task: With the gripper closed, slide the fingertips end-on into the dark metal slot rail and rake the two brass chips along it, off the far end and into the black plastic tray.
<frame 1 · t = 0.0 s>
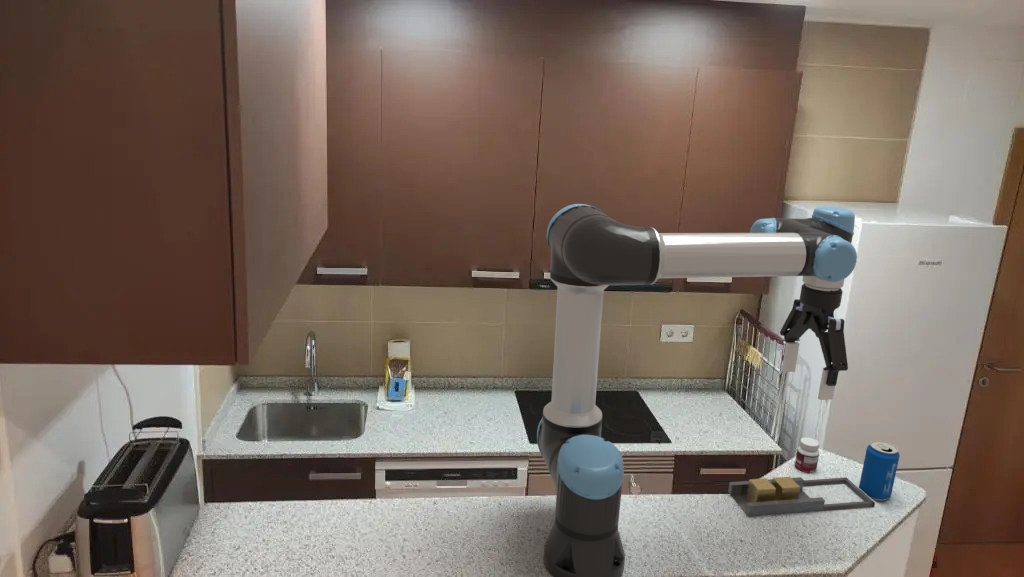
hand: (805, 384, 146), 28 cm above the counter, fingers open, 13 cm apart
tray: (833, 501, 155), on the counter
chip front: (783, 500, 152), point 1 cm above the counter, touching slot rail
beverage can: (874, 495, 159), on the counter
chip rear: (759, 502, 151), point 1 cm above the counter, touching slot rail
slot rail: (773, 507, 152), on the counter
pill bottle: (804, 474, 166), on the counter
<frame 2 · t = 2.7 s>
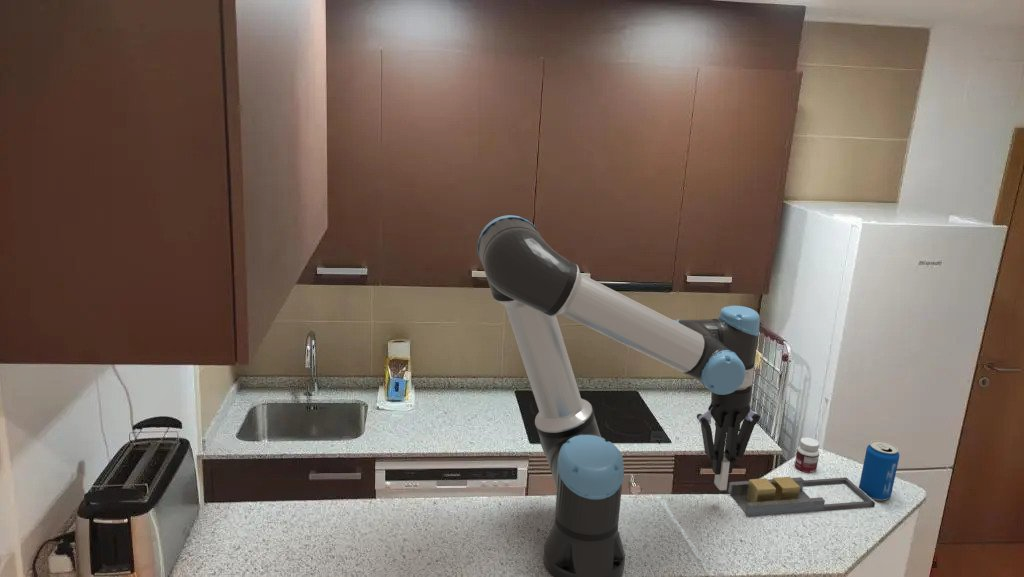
hand: (720, 486, 148), 6 cm above the counter, fingers closed
nothing on the counter moved.
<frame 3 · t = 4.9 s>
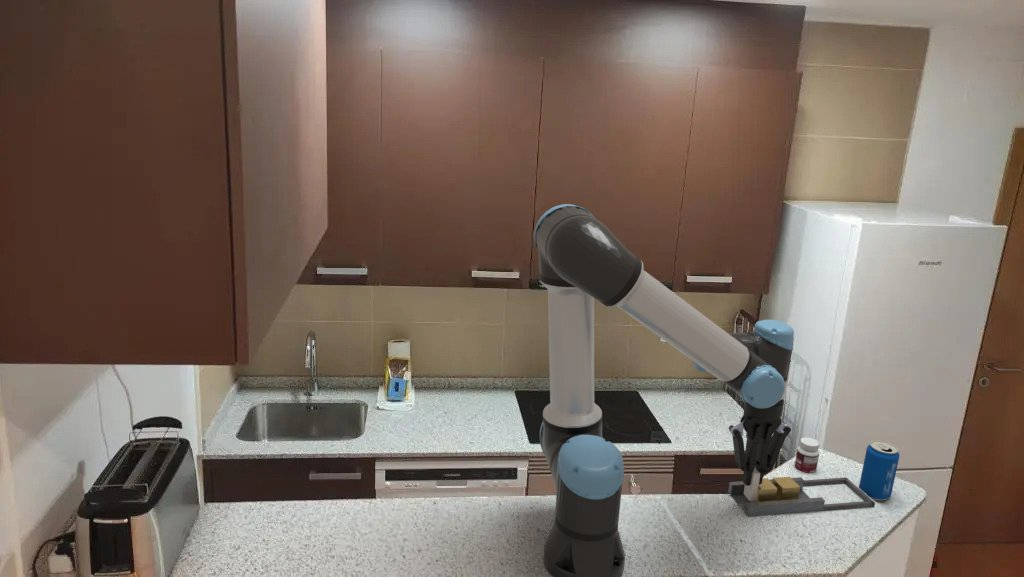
hand: (749, 497, 150), 3 cm above the counter, fingers closed
chip rear: (760, 502, 151), point 2 cm above the counter, touching gripper, slot rail
everything else where it was.
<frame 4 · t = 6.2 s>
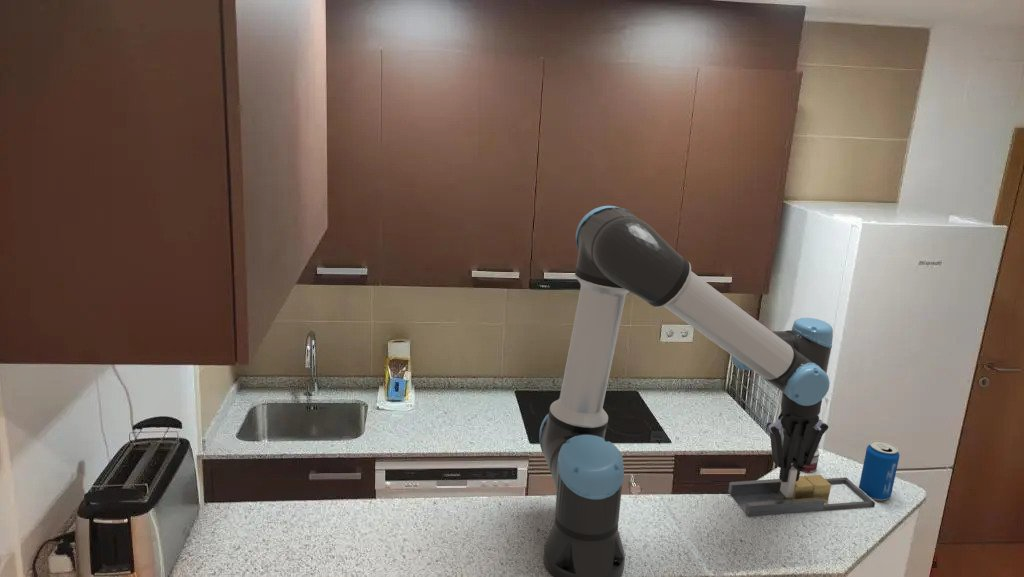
hand: (786, 493, 152), 3 cm above the counter, fingers closed
chip front: (813, 498, 153), point 1 cm above the counter, touching chip rear, slot rail
chip rear: (796, 499, 153), point 2 cm above the counter, touching chip front, gripper
everything else where it was.
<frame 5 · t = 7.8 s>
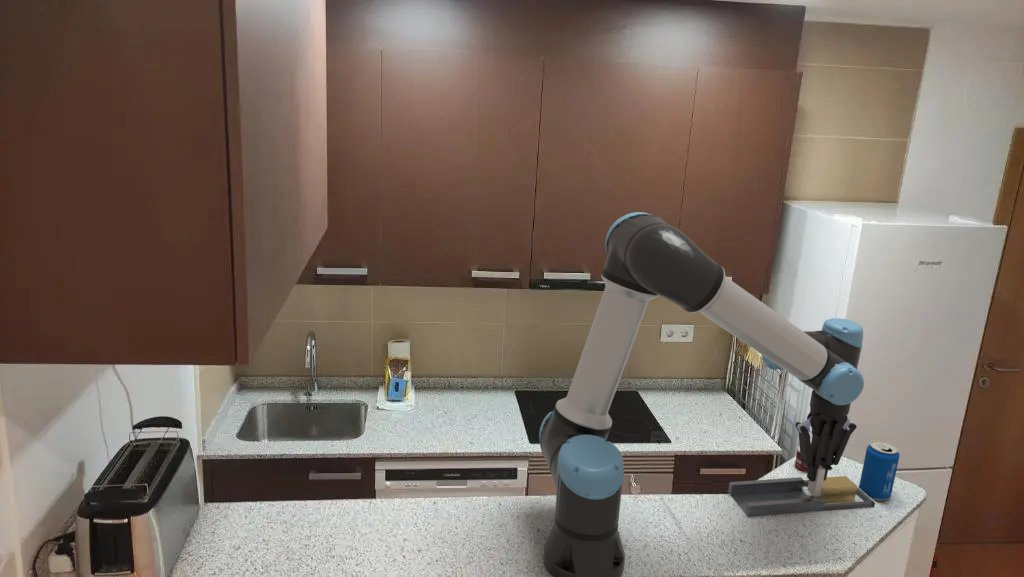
hand: (813, 492, 153), 3 cm above the counter, fingers closed
chip front: (839, 499, 155), point 1 cm above the counter, touching tray
chip rear: (823, 501, 154), point 1 cm above the counter, touching gripper, tray
everything else where it was.
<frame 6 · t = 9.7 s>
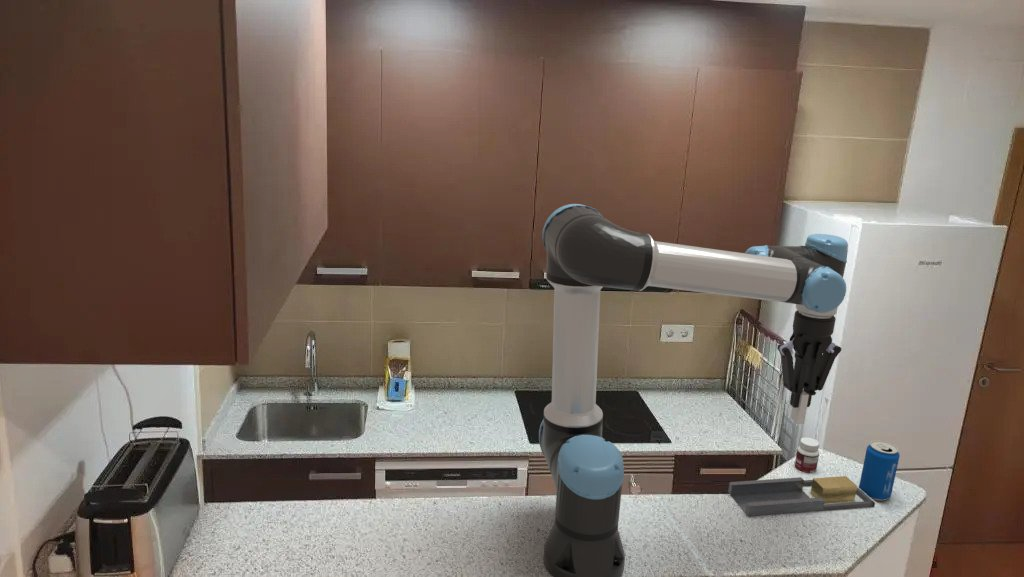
hand: (797, 420, 147), 20 cm above the counter, fingers closed
chip rear: (823, 501, 154), point 1 cm above the counter, touching tray
everything else where it was.
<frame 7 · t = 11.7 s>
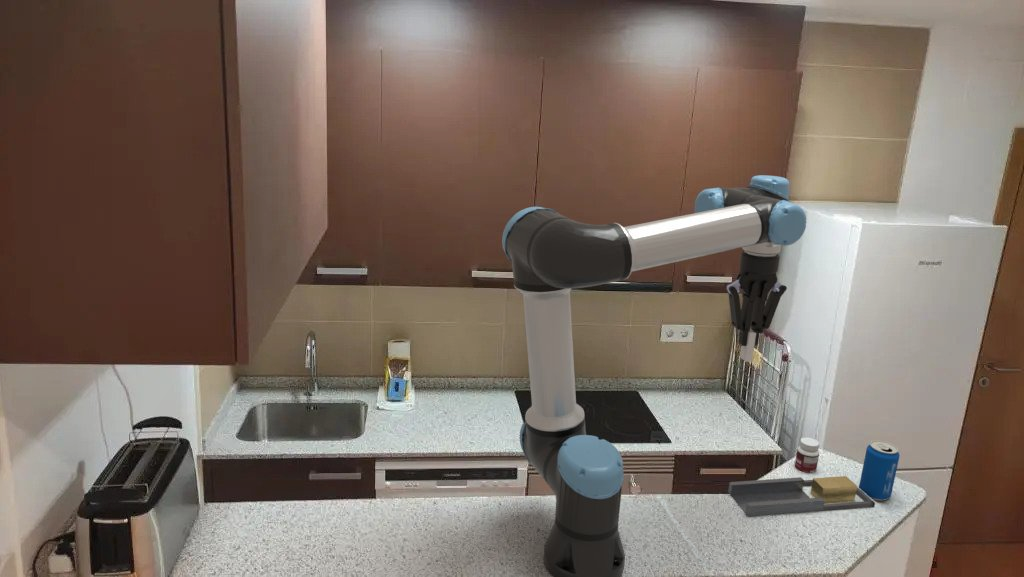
hand: (745, 359, 152), 30 cm above the counter, fingers closed
nothing on the counter moved.
at the end: chip rear inside the target area on the tray (3.3 cm from its centre), point 0.6 cm above the tray's base; chip front inside the target area on the tray (0.8 cm from its centre), point 0.6 cm above the tray's base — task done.
